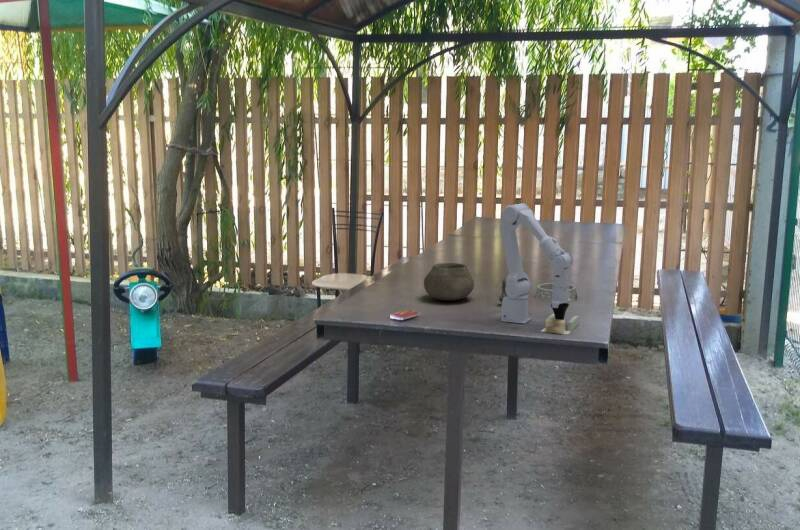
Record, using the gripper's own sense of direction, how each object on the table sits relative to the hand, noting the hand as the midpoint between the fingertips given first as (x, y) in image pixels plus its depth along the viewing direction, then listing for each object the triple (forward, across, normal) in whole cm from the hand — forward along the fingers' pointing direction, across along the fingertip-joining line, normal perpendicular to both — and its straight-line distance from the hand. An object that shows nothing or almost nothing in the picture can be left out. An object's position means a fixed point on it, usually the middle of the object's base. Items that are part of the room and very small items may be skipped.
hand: (559, 323), depth 282 cm
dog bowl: (+2, +49, +14) cm, 51 cm away
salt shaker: (+2, +26, +29) cm, 39 cm away
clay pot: (+2, +26, +54) cm, 60 cm away
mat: (+2, -5, 0) cm, 5 cm away
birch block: (+2, -6, 0) cm, 6 cm away
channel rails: (+2, +4, 0) cm, 4 cm away
